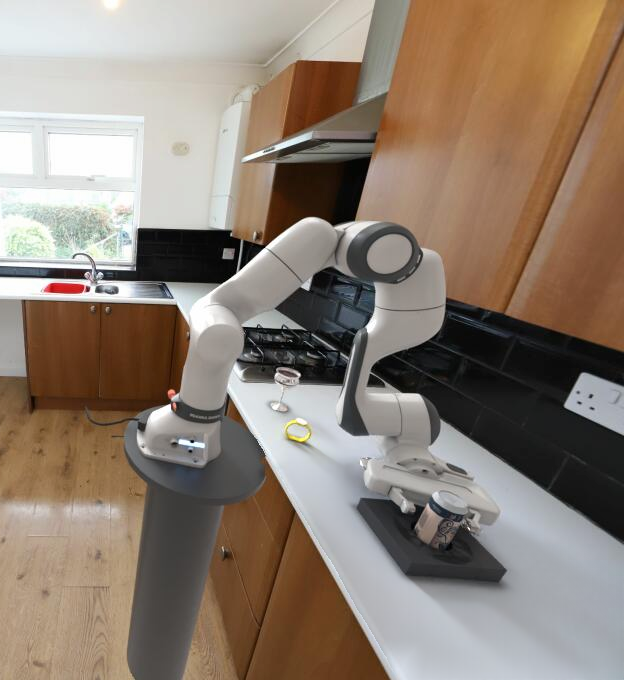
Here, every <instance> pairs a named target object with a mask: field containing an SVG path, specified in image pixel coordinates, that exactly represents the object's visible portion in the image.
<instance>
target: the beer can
mask: <svg viewBox="0 0 624 680" xmlns="http://www.w3.org/2000/svg"><path fill="white" fill-rule="evenodd" d="M467 513H468V507H467V504H466V502H465V500H463V499H462V498H461V497H459V496H458V495H456V494H454V493H452V492H449V491H445V490H440V491H438V492H435V493H433V494H432V496H431V498H430V500H429V502H428V504H427V505H426V507H425V509H424V511H423V513H422V515H421V517H420V519H419V520H418V522H417V524H416V526H415V528H414V530H413V533H414V534H415V535H416V536H417V537H418V538H419V539H420V540H422V541H423V542H424V543H426V544H428V545H430V546H432V547H434V548H437V549H439V550H445V549H446V548H447V546H448V544H449V543H450V541H451V539H452V538H453V536H454V535H455V533H456V531H457V530H458V528H459V526H460V525H462V522H464V520H465V519H464V518H465V516H466V515H467Z"/></svg>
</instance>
